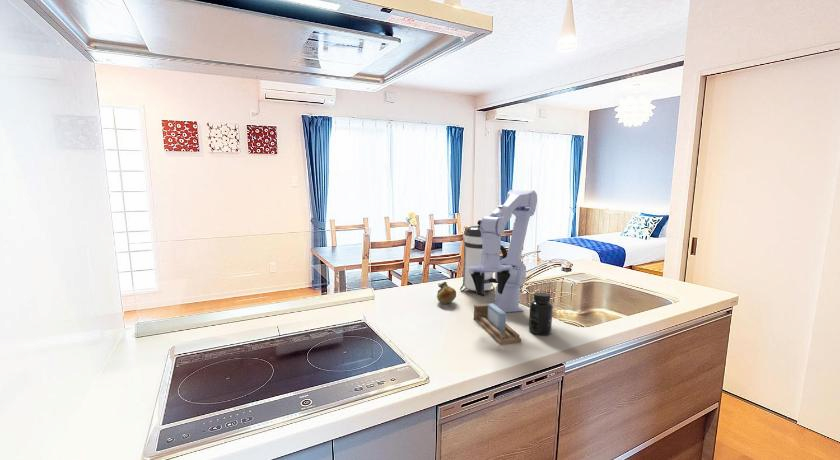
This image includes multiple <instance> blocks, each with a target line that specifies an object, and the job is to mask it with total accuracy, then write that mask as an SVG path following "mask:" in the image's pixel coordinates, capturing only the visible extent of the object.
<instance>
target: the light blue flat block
mask: <svg viewBox="0 0 840 460" xmlns="http://www.w3.org/2000/svg"><path fill="white" fill-rule="evenodd" d="M487 304H488V314H487V320H488V321H489V322H490V323H491V324H492V325H493V326H494V327H495V328H497V329H498V330H499V331H500V332H505V324H507V323H506V322H507V312H504V311H502V310H501V309H500V308H499V307H497V306H496V305H495V304H491V303H487Z"/></svg>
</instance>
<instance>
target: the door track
mask: <svg viewBox="0 0 840 460" xmlns="http://www.w3.org/2000/svg"><path fill="white" fill-rule="evenodd" d="M488 304H489V303H479V304H474V305H473V320H474V321H475V322H476V323H477V324H479V326H480V327H481V328H482V329H483V330H485V332H486V333H488V335H489V336H490V337H491V338H492V339H493V340H494V341H495V342H497V343H498V345H503V344H514V343H521V342H522V338H521V337H520V334H519V333H517V332H516V330H514V329H513V328H512V327H511V326H510V325H508V324H507V323H506V324H505V332H500V331H499V330H498V329H497V328H495V327H494V326H493V325H492V324H491V323H490V322H489V321H488V320H487V314H488ZM490 304H494V302H492V303H490Z"/></svg>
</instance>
